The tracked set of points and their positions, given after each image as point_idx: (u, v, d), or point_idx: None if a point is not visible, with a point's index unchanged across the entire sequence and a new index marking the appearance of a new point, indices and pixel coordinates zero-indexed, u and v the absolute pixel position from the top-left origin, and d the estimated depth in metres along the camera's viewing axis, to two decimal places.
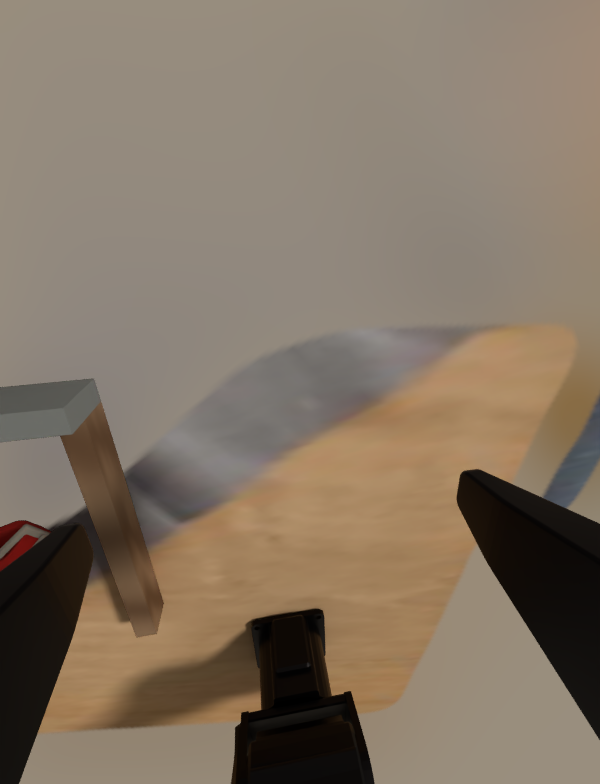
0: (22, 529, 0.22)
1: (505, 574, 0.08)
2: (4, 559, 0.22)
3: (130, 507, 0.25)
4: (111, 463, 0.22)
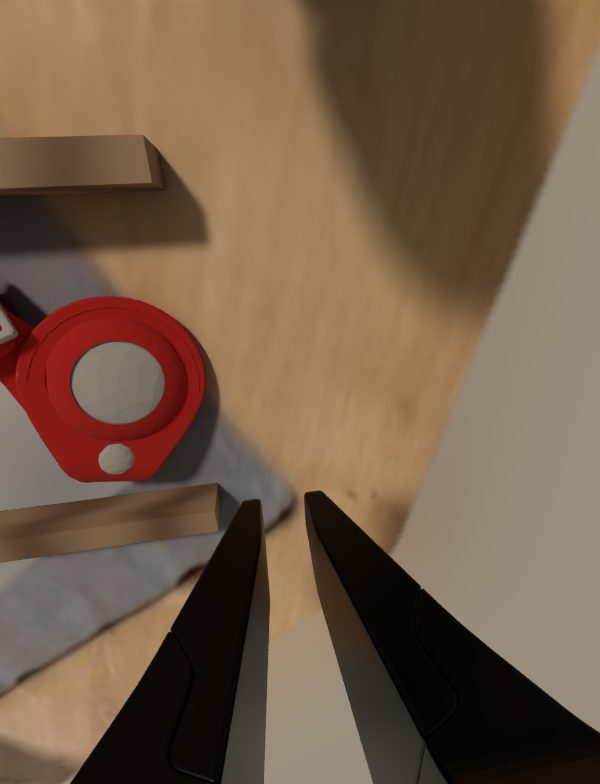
0: None
1: (324, 605, 0.07)
2: None
3: None
4: None
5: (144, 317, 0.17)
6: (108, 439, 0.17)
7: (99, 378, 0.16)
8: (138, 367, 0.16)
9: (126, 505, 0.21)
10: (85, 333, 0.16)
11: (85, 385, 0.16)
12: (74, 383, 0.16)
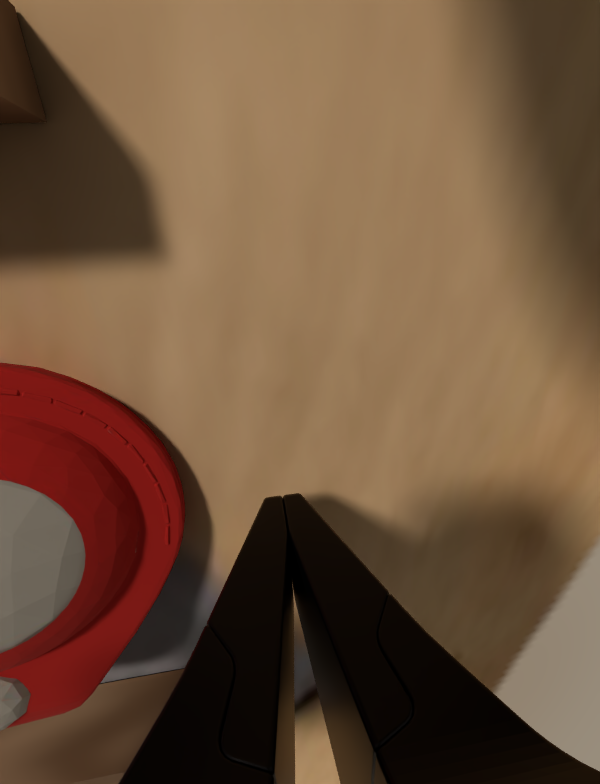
0: None
1: (299, 609, 0.07)
2: None
3: None
4: None
5: (36, 406, 0.07)
6: None
7: None
8: (14, 533, 0.07)
9: (29, 731, 0.11)
10: None
11: None
12: None
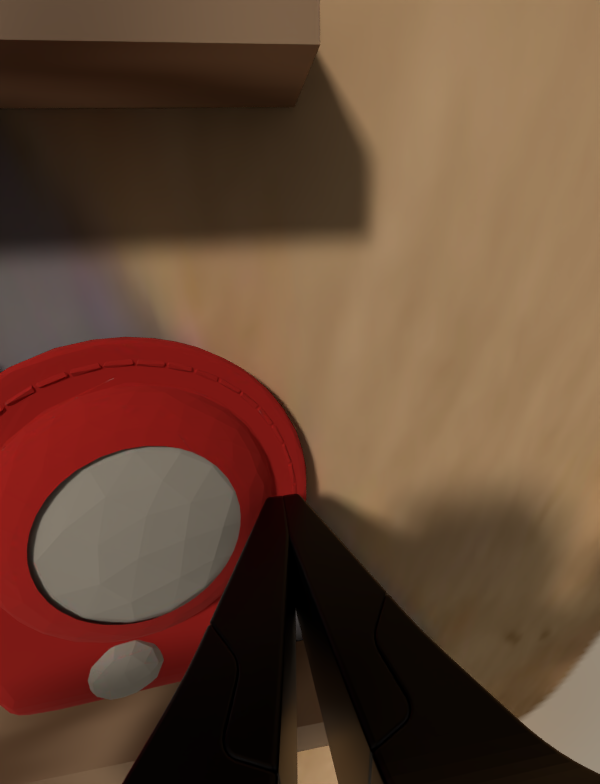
0: None
1: (297, 609, 0.07)
2: None
3: None
4: None
5: (204, 383, 0.08)
6: (112, 641, 0.08)
7: (101, 536, 0.07)
8: (190, 501, 0.07)
9: (166, 697, 0.12)
10: (72, 430, 0.06)
11: (66, 554, 0.07)
12: (39, 551, 0.06)
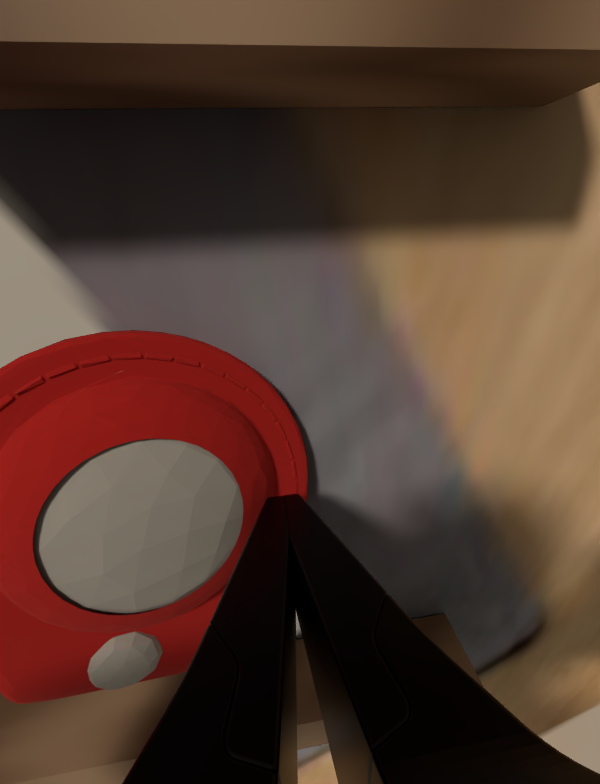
0: None
1: (297, 609, 0.07)
2: None
3: None
4: None
5: (211, 378, 0.08)
6: (113, 631, 0.08)
7: (106, 527, 0.07)
8: (195, 494, 0.07)
9: None
10: (81, 421, 0.07)
11: (71, 543, 0.07)
12: (45, 540, 0.06)
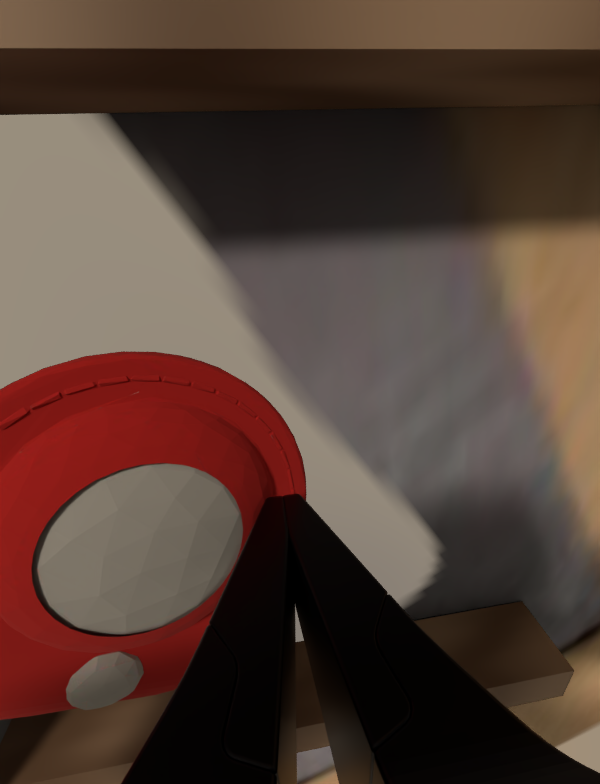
0: None
1: (298, 609, 0.07)
2: None
3: None
4: None
5: (224, 405, 0.08)
6: (97, 650, 0.08)
7: (108, 548, 0.07)
8: (198, 520, 0.07)
9: None
10: (94, 441, 0.07)
11: (71, 563, 0.07)
12: (44, 558, 0.06)
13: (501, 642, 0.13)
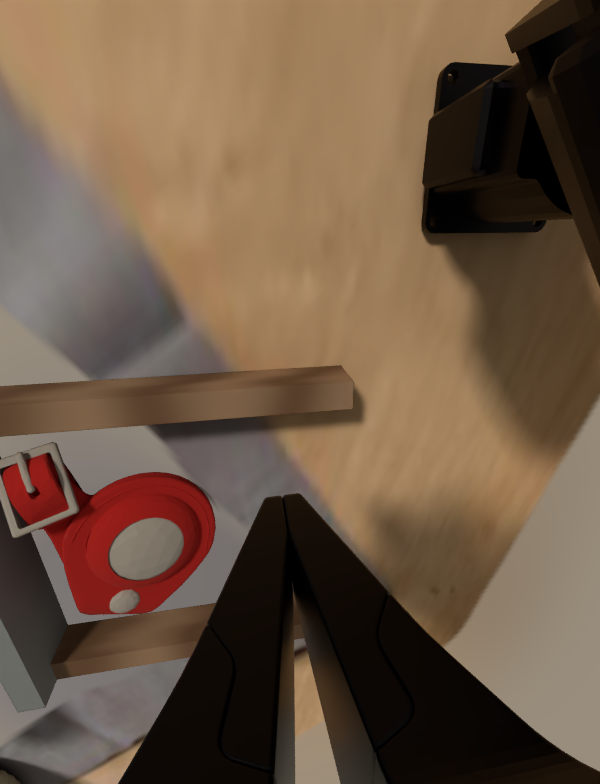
0: None
1: (299, 609, 0.07)
2: (11, 501, 0.17)
3: (140, 380, 0.18)
4: (46, 391, 0.17)
5: (179, 493, 0.21)
6: (123, 587, 0.20)
7: (133, 547, 0.19)
8: (166, 538, 0.20)
9: None
10: (131, 510, 0.19)
11: (120, 551, 0.19)
12: (112, 549, 0.19)
13: None
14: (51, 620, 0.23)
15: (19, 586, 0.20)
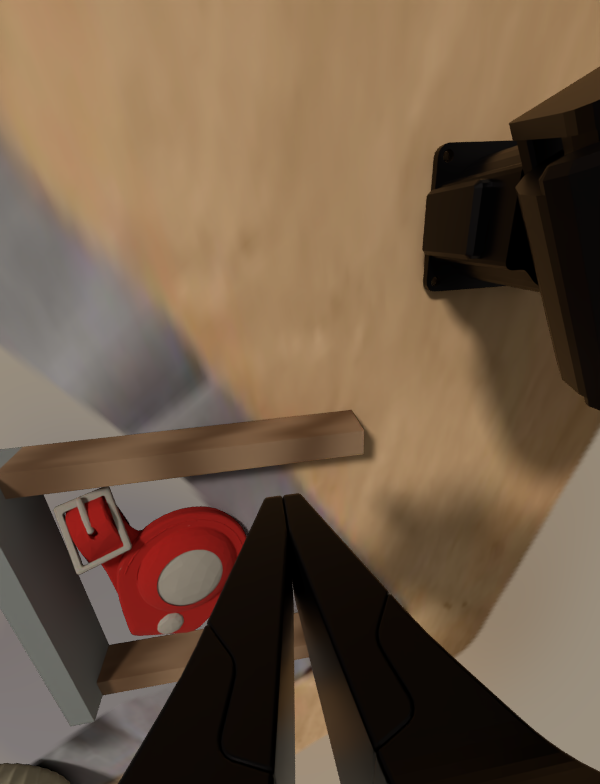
0: None
1: (299, 609, 0.07)
2: (74, 542, 0.19)
3: (169, 434, 0.20)
4: (87, 449, 0.19)
5: (217, 525, 0.23)
6: (170, 611, 0.22)
7: (179, 577, 0.21)
8: (207, 567, 0.22)
9: None
10: (176, 543, 0.21)
11: (168, 581, 0.21)
12: (160, 579, 0.21)
13: None
14: (95, 643, 0.25)
15: (68, 617, 0.22)
